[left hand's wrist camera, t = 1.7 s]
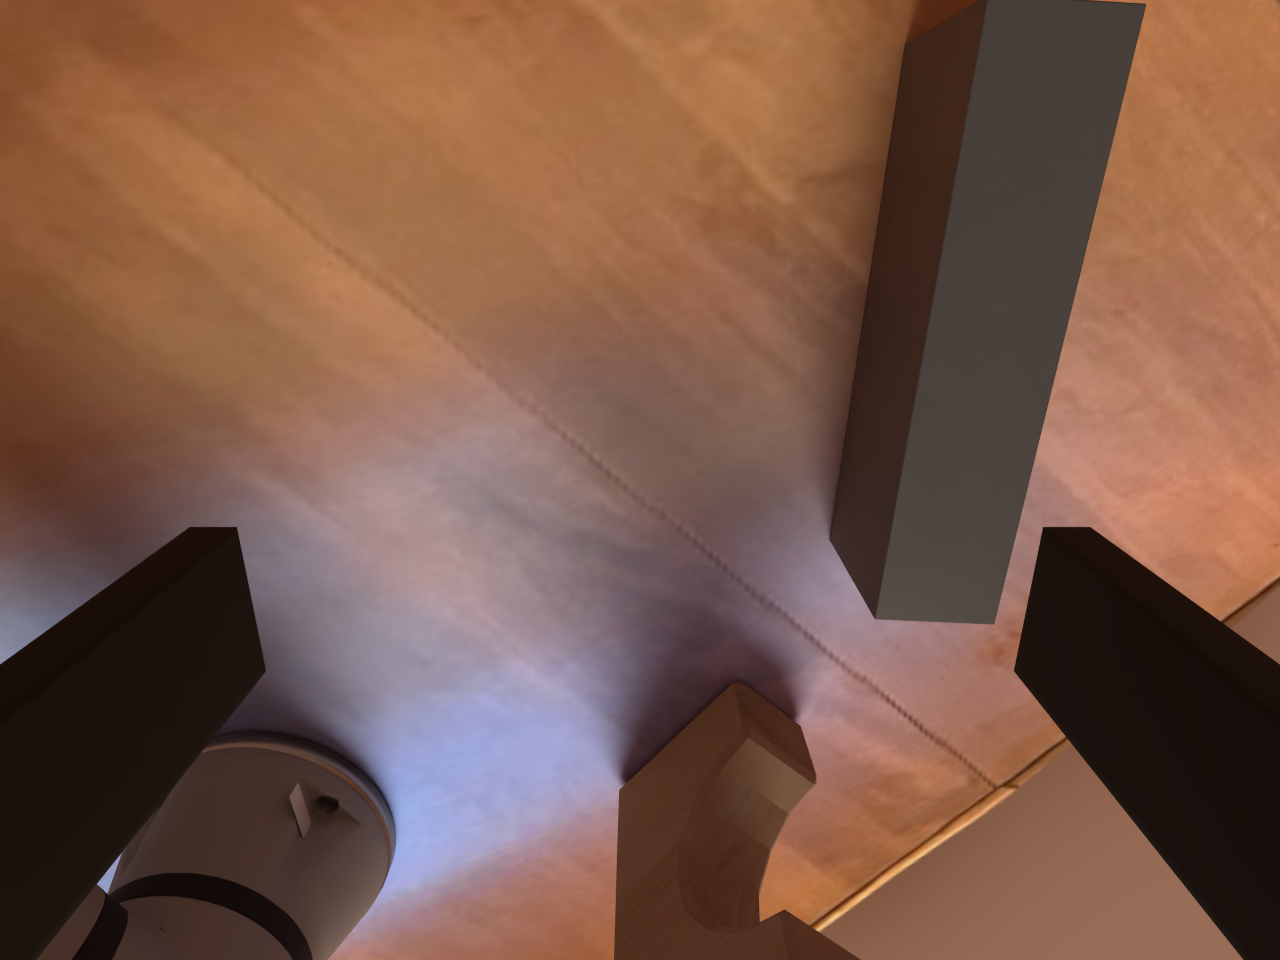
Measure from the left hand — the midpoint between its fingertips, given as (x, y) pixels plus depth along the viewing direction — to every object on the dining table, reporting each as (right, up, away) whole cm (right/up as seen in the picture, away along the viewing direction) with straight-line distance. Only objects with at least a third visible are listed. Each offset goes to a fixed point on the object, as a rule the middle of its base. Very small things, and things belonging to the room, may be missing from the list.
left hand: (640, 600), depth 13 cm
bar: (+14, +10, +25) cm, 30 cm away
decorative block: (+4, -15, +34) cm, 37 cm away
